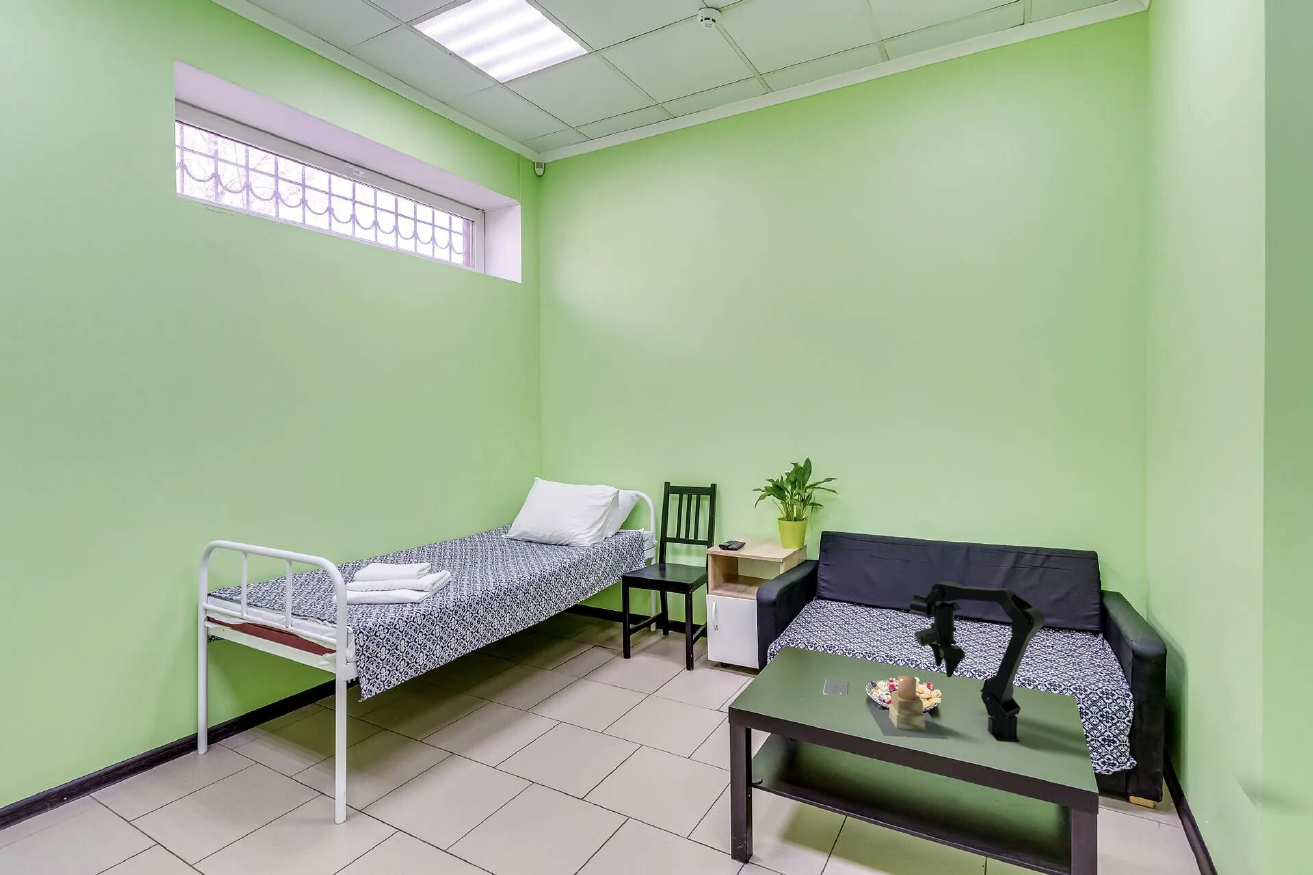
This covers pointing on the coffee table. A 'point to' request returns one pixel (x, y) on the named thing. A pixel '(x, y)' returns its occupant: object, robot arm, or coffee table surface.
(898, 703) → the top block
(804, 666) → the coffee table surface
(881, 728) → the rubber mat
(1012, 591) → the robot arm
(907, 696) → the terracotta cylinder
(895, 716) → the base block
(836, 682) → the mobile phone
